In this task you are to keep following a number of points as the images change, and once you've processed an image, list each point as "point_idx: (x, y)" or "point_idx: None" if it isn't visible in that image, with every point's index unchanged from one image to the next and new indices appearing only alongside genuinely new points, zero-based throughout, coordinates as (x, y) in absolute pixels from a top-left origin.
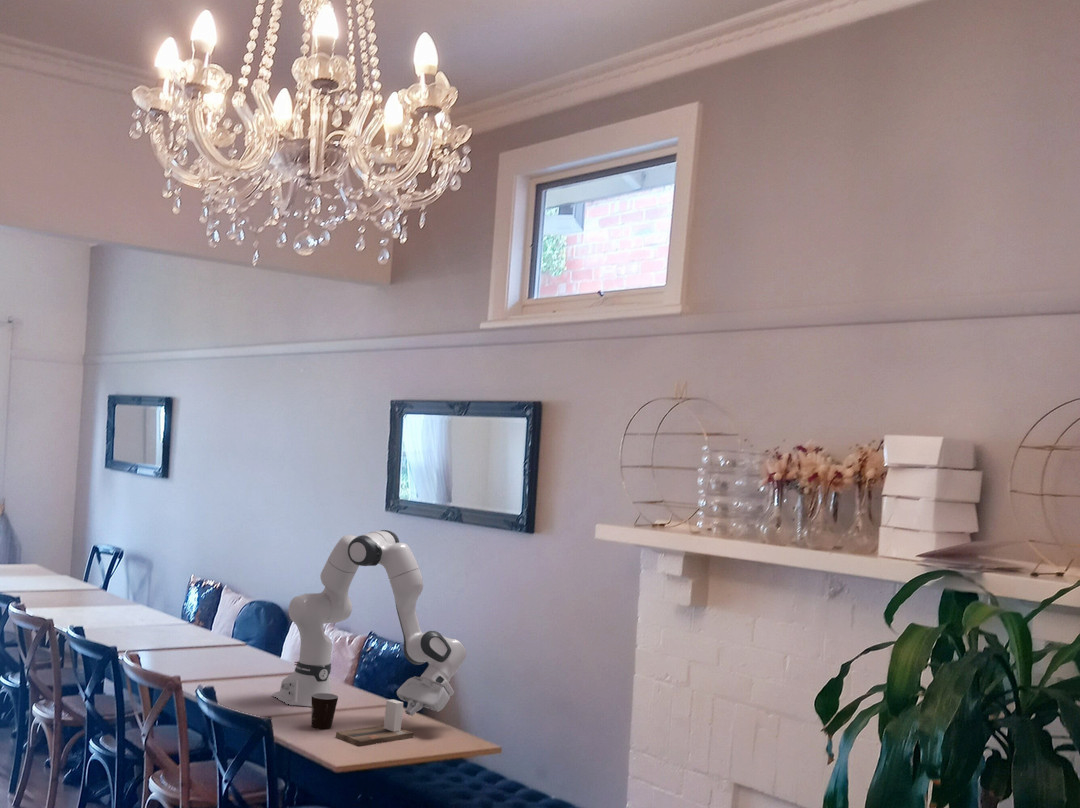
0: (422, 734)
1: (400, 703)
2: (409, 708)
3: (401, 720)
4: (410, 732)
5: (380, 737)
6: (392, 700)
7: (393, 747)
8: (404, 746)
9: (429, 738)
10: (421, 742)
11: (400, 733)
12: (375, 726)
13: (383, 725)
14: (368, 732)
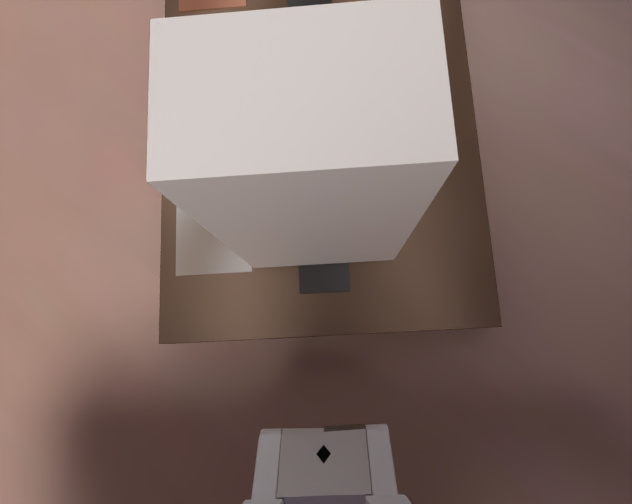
0: (213, 499)
1: (150, 111)
2: (333, 479)
3: (230, 247)
4: (181, 327)
5: (178, 11)
6: (379, 83)
7: (52, 50)
8: (28, 131)
9: (86, 466)
10: (36, 316)
11: (190, 217)
12: (475, 159)
13: (480, 246)
14: (329, 2)
